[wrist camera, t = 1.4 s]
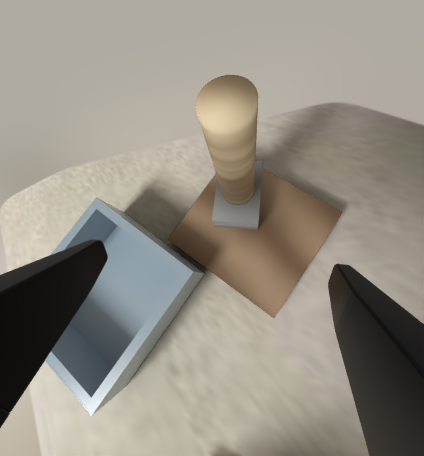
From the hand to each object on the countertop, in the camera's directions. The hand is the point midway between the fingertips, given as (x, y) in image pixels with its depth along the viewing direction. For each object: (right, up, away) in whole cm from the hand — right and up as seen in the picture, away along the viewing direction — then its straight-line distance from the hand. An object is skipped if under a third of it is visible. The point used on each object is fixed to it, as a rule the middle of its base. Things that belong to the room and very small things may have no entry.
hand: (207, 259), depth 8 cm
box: (-9, -5, +14) cm, 17 cm away
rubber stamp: (+3, +4, +13) cm, 14 cm away
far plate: (+4, +1, +13) cm, 14 cm away
